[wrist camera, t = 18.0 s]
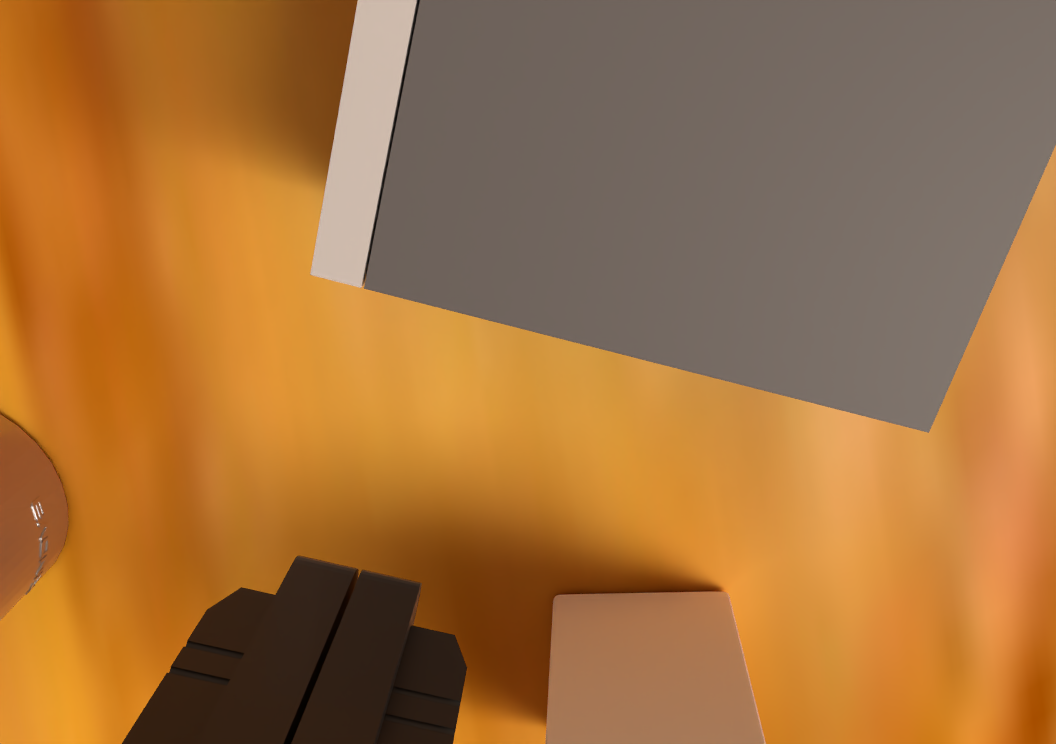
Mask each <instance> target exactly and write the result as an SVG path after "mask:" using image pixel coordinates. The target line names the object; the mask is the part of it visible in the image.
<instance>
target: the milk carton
mask: <svg viewBox="0 0 1056 744" xmlns="http://www.w3.org/2000/svg"><path fill="white" fill-rule="evenodd" d="M546 744H766V743H765V739H764V735H763V731H762V727H761V723H760V719H759V715H758V710H757V706H756V702H755V698H754V694H753V690H752V686H751V682H750V678H749V674H748V670H747V666H746V662H745V658H744V654H743V649H742V645H741V641H740V637H739V633H738V629H737V625H736V621H735V617H734V613H733V609H732V605H731V601H730V597H729V594H728V593H726V592H659V593H609V594H566V595H557V596H555V597H554V601H553V615H552V633H551V652H550V670H549V689H548V707H547V726H546Z"/></svg>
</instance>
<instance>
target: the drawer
mask: <svg viewBox="0 0 1056 744" xmlns="http://www.w3.org/2000/svg"><path fill="white" fill-rule="evenodd" d="M419 3H420V0H358V2H357V8H356V13H355V19H354V25H353V31H352V37H351V42H350V48H349V54H348V60H347V66H346V71H345V77H344V83H343V89H342V95H341V100H340V106H339V112H338V118H337V124H336V129H335V135H334V141H333V147H332V153H331V158H330V164H329V170H328V176H327V182H326V187H325V193H324V199H323V205H322V211H321V216H320V222H319V228H318V234H317V240H316V245H315V251H314V257H313V263H312V269H311V274H310V275H313V276H317V277H321V278H325V279H329V280H333V281H337V282H341V283H345V284H348V285H352V286H356V287H360V288H361V287H362V286H363V285H364V283H365V281H366V275H367V270H368V265H369V260H370V255H371V250H372V245H373V239H374V234H375V229H376V224H377V219H378V214H379V209H380V203H381V198H382V193H383V188H384V183H385V178H386V173H387V167H388V162H389V157H390V152H391V147H392V142H393V137H394V131H395V126H396V121H397V116H398V111H399V106H400V101H401V95H402V90H403V85H404V80H405V75H406V70H407V65H408V59H409V54H410V49H411V44H412V39H413V34H414V29H415V23H416V18H417V13H418V8H419Z"/></svg>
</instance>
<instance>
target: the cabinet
mask: <svg viewBox="0 0 1056 744" xmlns="http://www.w3.org/2000/svg"><path fill="white" fill-rule="evenodd" d="M1055 145H1056V0H420V3H419V8H418V13H417V18H416V23H415V29H414V34H413V39H412V44H411V49H410V54H409V59H408V65H407V70H406V75H405V80H404V85H403V90H402V95H401V101H400V106H399V111H398V116H397V121H396V126H395V131H394V137H393V142H392V147H391V152H390V157H389V162H388V167H387V173H386V178H385V183H384V188H383V193H382V198H381V203H380V209H379V214H378V219H377V224H376V229H375V234H374V239H373V245H372V250H371V255H370V260H369V265H368V270H367V275H366V281H365V286H364V289H368V290H372V291H376V292H380V293H384V294H388V295H392V296H395V297H399V298H403V299H407V300H411V301H415V302H419V303H423V304H427V305H431V306H435V307H439V308H442V309H446V310H450V311H454V312H458V313H462V314H466V315H470V316H474V317H478V318H482V319H486V320H489V321H493V322H497V323H501V324H505V325H509V326H513V327H517V328H521V329H525V330H529V331H533V332H537V333H540V334H544V335H548V336H552V337H556V338H560V339H564V340H568V341H572V342H576V343H580V344H584V345H587V346H591V347H595V348H599V349H603V350H607V351H611V352H615V353H619V354H623V355H627V356H631V357H634V358H638V359H642V360H646V361H650V362H654V363H658V364H662V365H666V366H670V367H674V368H678V369H682V370H685V371H689V372H693V373H697V374H701V375H705V376H709V377H713V378H717V379H721V380H725V381H729V382H732V383H736V384H740V385H744V386H748V387H752V388H756V389H760V390H764V391H768V392H772V393H776V394H779V395H783V396H787V397H791V398H795V399H799V400H803V401H807V402H811V403H815V404H819V405H823V406H826V407H830V408H834V409H838V410H842V411H846V412H850V413H854V414H858V415H862V416H866V417H870V418H874V419H877V420H881V421H885V422H889V423H893V424H897V425H901V426H905V427H909V428H913V429H917V430H921V431H924V432H928V433H929V431H930V429H931V426H932V424H933V422H934V420H935V417H936V415H937V413H938V411H939V408H940V406H941V404H942V402H943V399H944V397H945V395H946V392H947V390H948V388H949V386H950V383H951V381H952V379H953V377H954V374H955V372H956V370H957V367H958V365H959V363H960V361H961V358H962V356H963V354H964V352H965V349H966V347H967V345H968V343H969V340H970V338H971V336H972V333H973V331H974V329H975V327H976V324H977V322H978V320H979V318H980V315H981V313H982V311H983V309H984V306H985V304H986V302H987V299H988V297H989V295H990V293H991V290H992V288H993V286H994V284H995V281H996V279H997V277H998V274H999V272H1000V270H1001V268H1002V265H1003V263H1004V261H1005V259H1006V256H1007V254H1008V252H1009V250H1010V247H1011V245H1012V243H1013V240H1014V238H1015V236H1016V234H1017V231H1018V229H1019V227H1020V225H1021V222H1022V220H1023V218H1024V215H1025V213H1026V211H1027V209H1028V206H1029V204H1030V202H1031V200H1032V197H1033V195H1034V193H1035V191H1036V188H1037V186H1038V184H1039V181H1040V179H1041V177H1042V175H1043V172H1044V170H1045V168H1046V166H1047V163H1048V161H1049V159H1050V157H1051V154H1052V152H1053V150H1054V147H1055Z"/></svg>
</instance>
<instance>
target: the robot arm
mask: <svg viewBox="0 0 1056 744" xmlns="http://www.w3.org/2000/svg"><path fill="white" fill-rule="evenodd" d="M67 530H68V505H67V501H66V497H65V493H64V490H63V486H62V483H61V481H60V479H59V477H58V475H57V473H56V471H55V469H54V467H53V465H52V463H51V462H50V460H49V459H48V458H47V456H46V455H45V454H44V452H43V451H42V450H41V448H40V447H39V446H38V445H37V443H36V442H35V441H34V440H33V439H31V438H30V437H29V436H28V435H27V434H26V433H25V432H24V431H23V430H22V429H21V428H20V427H18V426H17V425H16V424H14V423H13V422H11V421H10V420H8V419H7V418H5V417H3V416H2V415H0V620H1V619H2V618H3V617H4V616H5V615H6V614H7V613H8V612H9V611H10V610H11V609H12V608H13V607H14V605H15V604H16V603H17V602H18V601H19V600H20V599H21V598H22V597H23V596H24V595H27V594H28V593H29V591H30V590H31V589H32V588H33V587H34V586H35V584H36V583H37V581H38V580H39V579H40V578H41V577H42V576H43V575H44V574H45V573H46V572H47V570H48V569H49V568H50V567H51V566H52V565H53V564H54V563H55V562H56V560H57V558H58V556H59V554H60V552H61V550H62V548H63V546H64V544H65V539H66V535H67ZM421 585H422V583H419V582H415V581H410V580H406V579H401V578H397V577H393V576H388V575H384V574H379V573H375V572H370V571H366V570H362V571H361V573H360V576H359V578H358V569H356V568H352V567H347V566H343V565H338V564H334V563H330V562H325V561H321V560H316V559H312V558H307V557H303V556H297V557H296V558H295V560H294V562H293V563H292V565H291V567H290V569H289V571H288V573H287V575H286V576H285V578H284V580H283V582H282V584H281V586H280V588H279V589H278V591H277V593H276V595H273V594H268V593H264V592H259V591H255V590H250V589H246V588H242V587H241V588H240V589H238V590H237V591H235V592H234V593H232V594H231V595H229V596H228V597H226V598H224V599H223V600H221V601H220V602H218V603H217V604H215V605H214V606H212V607H211V608H209V609H207V611H206V612H205V614H204V615H203V617H202V618H201V620H200V622H199V623H198V625H197V626H196V628H195V629H194V631H193V633H192V634H191V636H190V637H189V639H188V641H187V645H186V647H183V648H182V650H181V651H180V653H179V655H178V656H177V658H176V659H175V661H174V662H173V664H172V666H171V669H170V672H169V673H166V675H165V677H164V678H163V680H162V681H161V683H160V684H159V686H158V688H157V689H156V691H155V692H154V694H153V695H152V697H151V699H150V700H149V702H148V703H147V705H146V706H145V708H144V710H143V711H142V713H141V714H140V716H139V717H138V719H137V721H136V722H135V724H134V725H133V727H132V728H131V730H130V732H129V733H128V735H127V736H126V738H125V739H124V741H123V743H122V744H453V740H454V733H455V729H456V724H457V718H458V713H459V706H460V702H461V697H462V691H463V686H464V681H465V675H466V670H467V667H466V664H465V661H464V659H463V656H462V653H461V651H460V648H459V645H458V643H457V640H456V637H455V635H452V634H447V633H443V632H438V631H434V630H429V629H425V628H421V627H416V626H413V624H414V619H415V615H416V610H417V605H418V601H419V596H420V591H421Z"/></svg>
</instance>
